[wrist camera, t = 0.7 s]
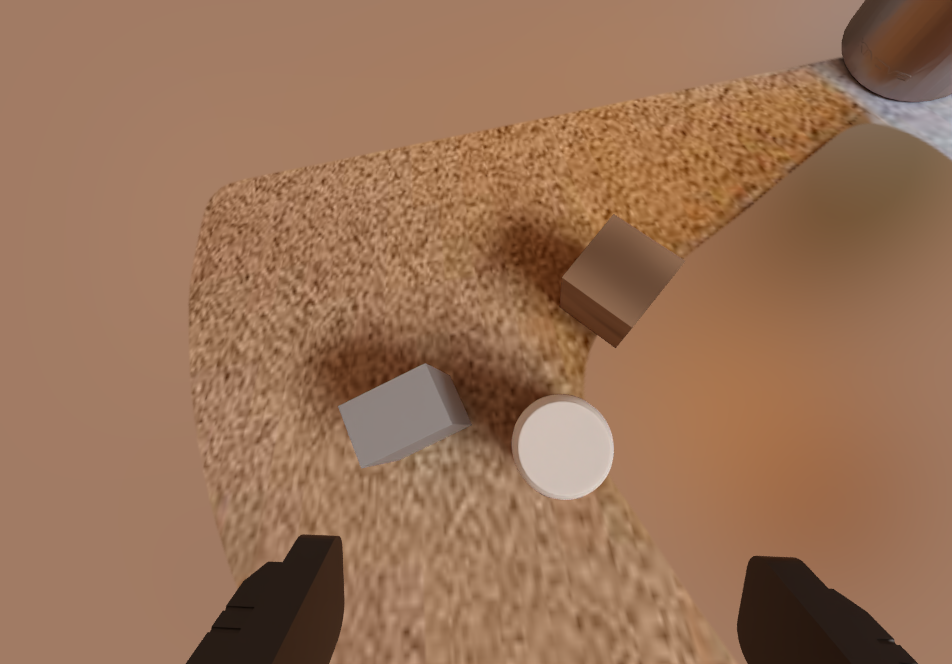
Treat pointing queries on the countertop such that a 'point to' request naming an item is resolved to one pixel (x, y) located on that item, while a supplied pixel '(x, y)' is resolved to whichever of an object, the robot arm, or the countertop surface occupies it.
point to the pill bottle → (562, 446)
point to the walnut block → (616, 280)
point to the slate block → (403, 416)
